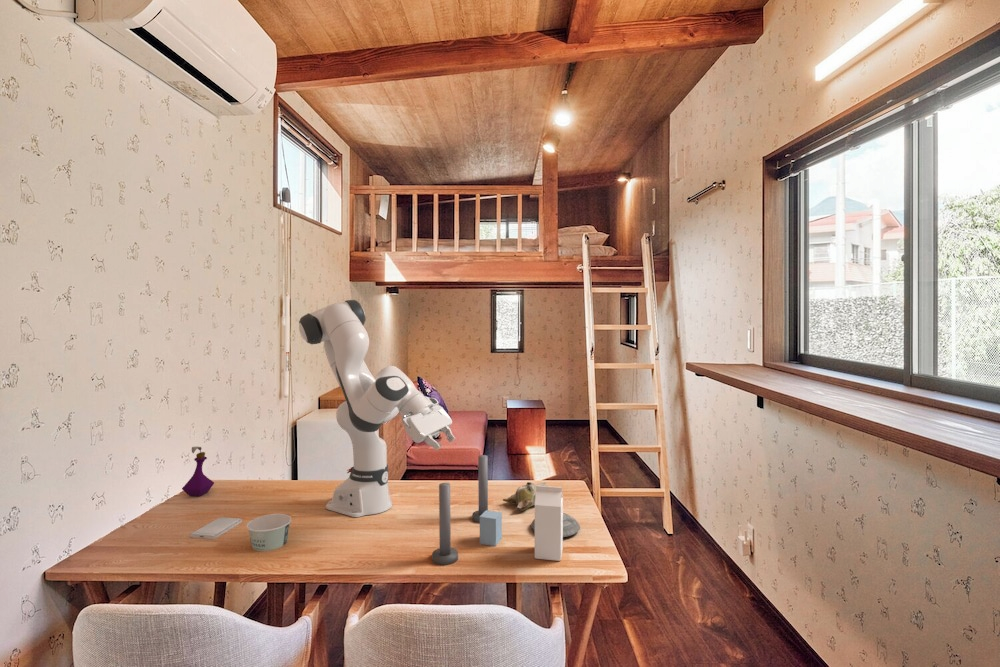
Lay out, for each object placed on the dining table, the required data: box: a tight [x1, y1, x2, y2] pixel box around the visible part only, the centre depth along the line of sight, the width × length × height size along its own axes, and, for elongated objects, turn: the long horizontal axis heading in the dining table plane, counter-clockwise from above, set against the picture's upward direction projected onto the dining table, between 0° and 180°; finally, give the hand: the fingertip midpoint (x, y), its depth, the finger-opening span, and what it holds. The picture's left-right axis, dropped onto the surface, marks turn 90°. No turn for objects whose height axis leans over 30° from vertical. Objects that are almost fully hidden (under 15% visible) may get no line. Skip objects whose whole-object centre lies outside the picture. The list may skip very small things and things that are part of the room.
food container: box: [245, 513, 293, 552], centre depth 146 cm, size 12×12×6 cm
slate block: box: [479, 510, 503, 547], centre depth 147 cm, size 5×5×8 cm
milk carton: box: [534, 485, 564, 562], centre depth 139 cm, size 7×7×19 cm
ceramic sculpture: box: [502, 481, 547, 511], centre depth 174 cm, size 11×9×15 cm
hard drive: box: [189, 516, 243, 540], centre depth 156 cm, size 2×8×12 cm
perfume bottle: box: [181, 446, 215, 497], centre depth 185 cm, size 8×8×18 cm
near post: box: [431, 482, 459, 566], centre depth 137 cm, size 7×7×20 cm
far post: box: [471, 454, 489, 524], centre depth 163 cm, size 7×7×20 cm
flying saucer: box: [530, 512, 581, 538], centre depth 155 cm, size 15×15×6 cm
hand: (446, 444), depth 151 cm, fingers open, 8 cm apart
